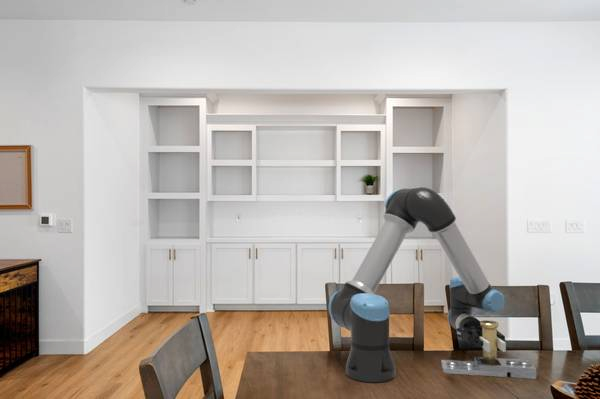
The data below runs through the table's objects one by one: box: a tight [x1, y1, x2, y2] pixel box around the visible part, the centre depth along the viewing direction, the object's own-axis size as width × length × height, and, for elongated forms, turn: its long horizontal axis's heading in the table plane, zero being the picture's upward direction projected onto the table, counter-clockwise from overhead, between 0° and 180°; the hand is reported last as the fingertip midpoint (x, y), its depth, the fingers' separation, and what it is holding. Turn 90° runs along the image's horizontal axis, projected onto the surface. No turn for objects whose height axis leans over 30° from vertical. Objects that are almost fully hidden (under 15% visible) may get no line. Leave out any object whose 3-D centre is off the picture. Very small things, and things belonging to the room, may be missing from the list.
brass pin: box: [479, 320, 499, 365], centre depth 140 cm, size 5×5×14 cm
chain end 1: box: [440, 359, 508, 378], centre depth 141 cm, size 18×8×2 cm, turn 78°
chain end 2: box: [473, 356, 537, 380], centre depth 139 cm, size 16×8×4 cm, turn 78°
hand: (496, 347), depth 135 cm, fingers closed on brass pin, 4 cm apart
